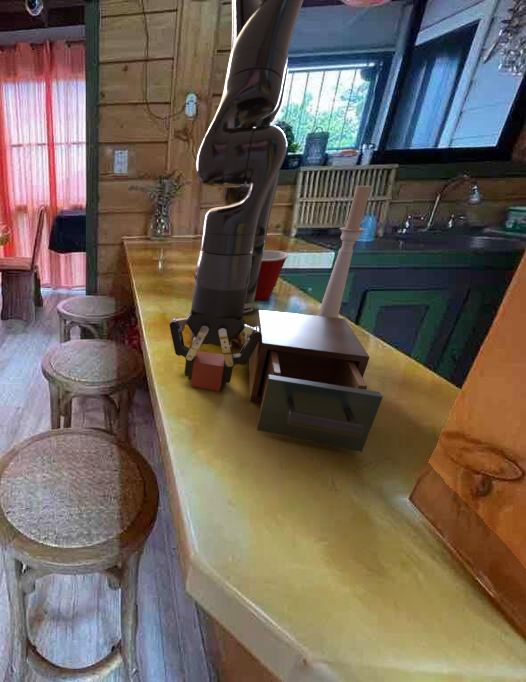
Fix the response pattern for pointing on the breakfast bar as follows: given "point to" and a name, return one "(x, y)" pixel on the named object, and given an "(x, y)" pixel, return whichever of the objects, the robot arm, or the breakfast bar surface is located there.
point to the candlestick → (345, 254)
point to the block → (207, 370)
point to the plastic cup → (269, 273)
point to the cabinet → (303, 342)
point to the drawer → (316, 400)
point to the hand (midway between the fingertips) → (206, 380)
